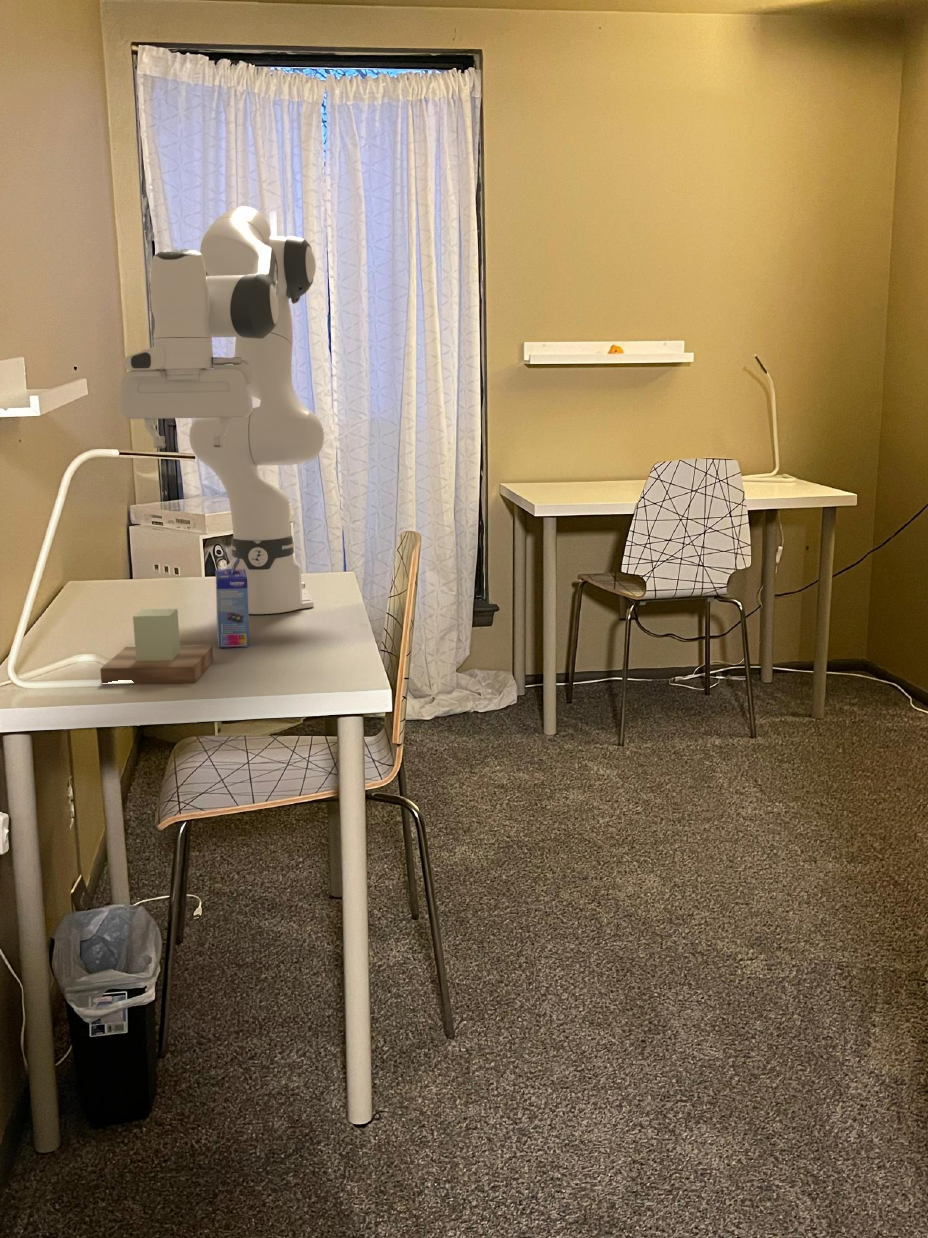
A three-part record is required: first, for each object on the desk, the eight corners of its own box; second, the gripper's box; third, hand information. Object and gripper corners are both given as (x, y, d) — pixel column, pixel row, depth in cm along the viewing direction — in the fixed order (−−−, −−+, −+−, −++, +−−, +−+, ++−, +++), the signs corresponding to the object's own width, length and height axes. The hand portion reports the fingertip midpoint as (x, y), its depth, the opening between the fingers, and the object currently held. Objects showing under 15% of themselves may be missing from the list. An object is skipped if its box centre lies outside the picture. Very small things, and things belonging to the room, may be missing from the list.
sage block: (145, 652, 183) (142, 609, 182) (180, 651, 183) (177, 608, 182) (136, 661, 178) (132, 616, 176) (172, 660, 178) (169, 615, 177)
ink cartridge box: (251, 647, 197) (247, 563, 194) (218, 649, 195) (213, 564, 192) (249, 634, 206) (244, 554, 203) (217, 636, 205) (212, 555, 202)
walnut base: (127, 661, 188) (125, 646, 187) (213, 660, 188) (212, 645, 188) (101, 684, 174) (100, 668, 174) (195, 682, 174) (193, 666, 174)
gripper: (254, 356, 183) (258, 445, 186) (124, 358, 183) (131, 447, 186) (247, 356, 177) (252, 447, 180) (113, 358, 177) (120, 449, 180)
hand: (189, 447), depth 183 cm, fingers open, 8 cm apart
